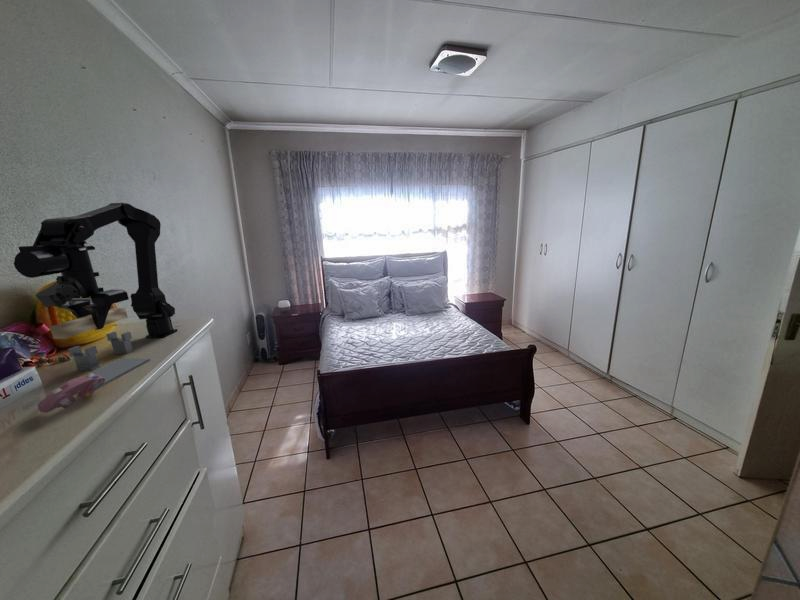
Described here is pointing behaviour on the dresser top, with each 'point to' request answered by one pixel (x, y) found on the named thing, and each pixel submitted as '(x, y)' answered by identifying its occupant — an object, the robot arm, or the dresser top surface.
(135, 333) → the dresser top surface
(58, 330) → the birch rail
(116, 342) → the metal standards
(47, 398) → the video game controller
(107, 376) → the slate mat
